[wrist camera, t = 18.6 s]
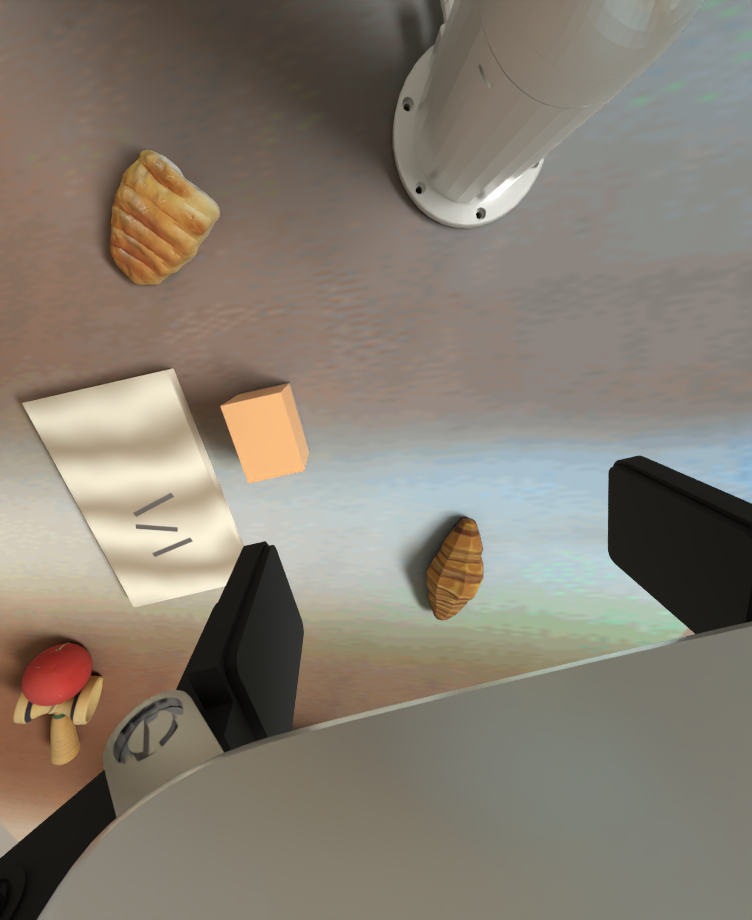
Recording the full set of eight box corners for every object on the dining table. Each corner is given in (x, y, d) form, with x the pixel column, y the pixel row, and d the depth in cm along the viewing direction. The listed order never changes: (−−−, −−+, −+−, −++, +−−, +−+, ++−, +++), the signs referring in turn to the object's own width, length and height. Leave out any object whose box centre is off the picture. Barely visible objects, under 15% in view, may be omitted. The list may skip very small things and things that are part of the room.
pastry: (173, 306, 33) (152, 303, 30) (98, 252, 31) (66, 242, 28) (229, 209, 31) (214, 194, 28) (153, 146, 29) (126, 121, 26)
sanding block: (239, 393, 36) (220, 406, 30) (290, 382, 36) (280, 392, 30) (261, 460, 38) (248, 483, 33) (309, 449, 38) (304, 470, 33)
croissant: (436, 509, 42) (448, 532, 37) (493, 517, 43) (511, 540, 38) (409, 607, 46) (417, 638, 42) (462, 612, 47) (475, 643, 43)
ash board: (34, 400, 34) (21, 403, 33) (173, 368, 35) (166, 369, 33) (140, 598, 42) (133, 607, 41) (253, 571, 42) (250, 580, 41)
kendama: (117, 731, 51) (113, 643, 43) (78, 787, 45) (64, 698, 37) (62, 714, 51) (48, 623, 43) (16, 768, 45) (-11, 675, 37)
